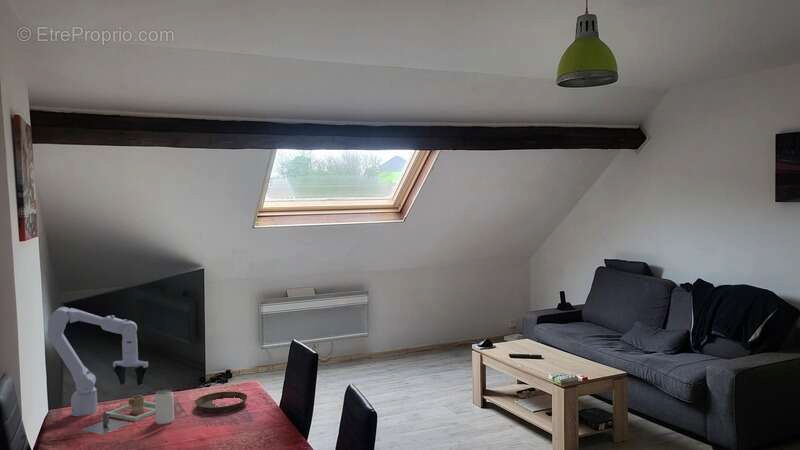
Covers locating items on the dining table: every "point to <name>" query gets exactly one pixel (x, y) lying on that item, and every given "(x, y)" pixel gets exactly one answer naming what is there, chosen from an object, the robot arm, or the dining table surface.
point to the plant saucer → (206, 400)
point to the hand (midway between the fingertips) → (131, 384)
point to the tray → (146, 405)
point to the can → (164, 406)
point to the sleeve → (137, 404)
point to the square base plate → (105, 425)
